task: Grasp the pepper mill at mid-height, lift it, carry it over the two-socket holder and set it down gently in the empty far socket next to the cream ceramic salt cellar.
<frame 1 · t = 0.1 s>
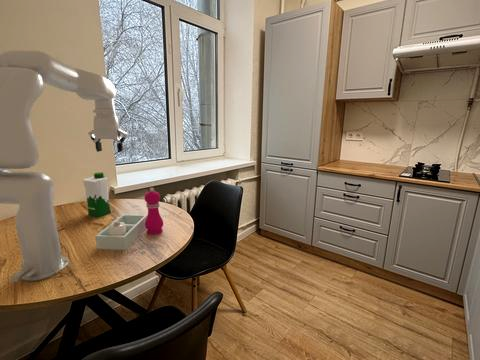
hand: (109, 151, 118), 31 cm above the table, fingers open, 9 cm apart
rack: (125, 238, 103), on the table
salt cellar: (118, 242, 98), point 1 cm above the table, touching rack
pepper mill: (155, 234, 108), on the table
milk carton: (99, 214, 127), on the table
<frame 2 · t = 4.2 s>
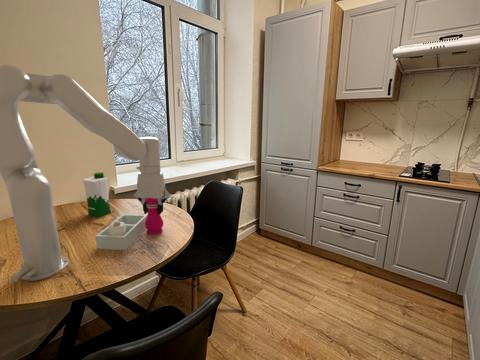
hand: (153, 212, 105), 9 cm above the table, fingers closed on pepper mill, 5 cm apart
pepper mill: (154, 234, 108), on the table, touching gripper
everything else where it was.
when the fingers open (12 cm above the table, at t = 9.1 s): pepper mill drops 1 cm, resting on rack.
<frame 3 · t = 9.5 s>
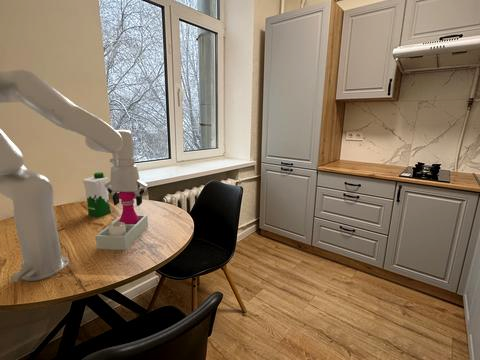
hand: (127, 204, 105), 13 cm above the table, fingers open, 8 cm apart
pepper mill: (130, 231, 107), point 1 cm above the table, touching rack
everything else where it was.
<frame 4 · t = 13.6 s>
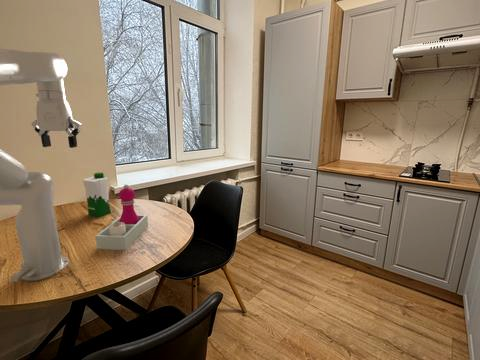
hand: (60, 147, 93), 36 cm above the table, fingers open, 9 cm apart
nothing on the table moved.
at the end: pepper mill 0.2 cm from the target spot on the rack, point 0.8 cm above the rack's base; pepper mill tilted 0°; the gripper is holding nothing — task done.
